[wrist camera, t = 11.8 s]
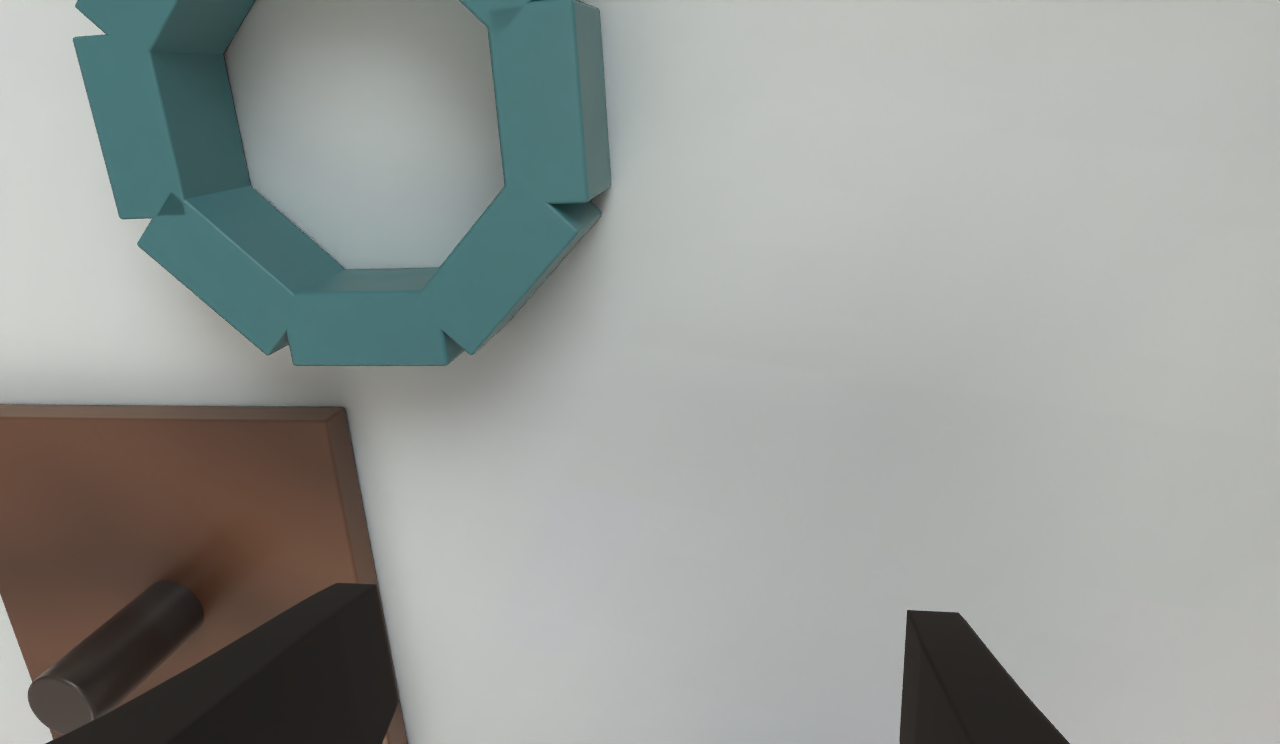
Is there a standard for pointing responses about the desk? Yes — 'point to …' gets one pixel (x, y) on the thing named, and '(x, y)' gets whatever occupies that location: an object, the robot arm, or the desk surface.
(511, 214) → the hoop
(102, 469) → the peg stand
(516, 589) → the desk surface
